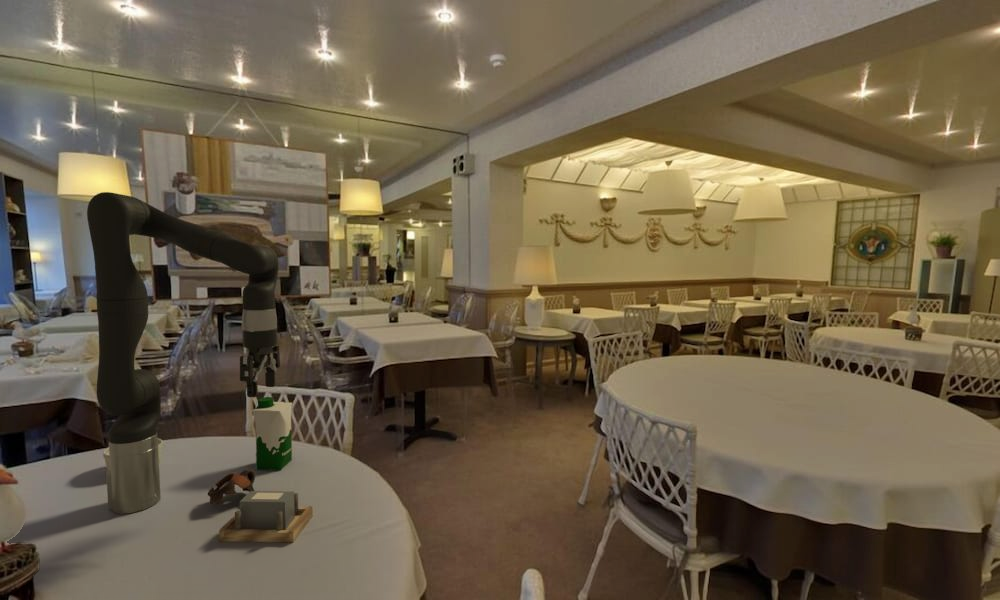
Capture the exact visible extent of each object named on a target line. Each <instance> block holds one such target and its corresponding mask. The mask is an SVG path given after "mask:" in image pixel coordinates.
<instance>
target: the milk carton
mask: <svg viewBox="0 0 1000 600" xmlns="http://www.w3.org/2000/svg"><path fill="white" fill-rule="evenodd" d="M292 404H293V403H292V402H284V401H274V398H273V397H271V396H266V397H265V396H264V397H260V398H258V399H257V406H256V407H255V408H254V409H253V410H252V414H253V417H254V418H253V419H254V422H255V448H256V449H255V452H256V453H255V454H256V455H255V456H256V457H255V463H256V464H255V470H256V471H282V470H283V469H284V468H285V467H286V466H287V465H288V464H289V463H290V462H291V461H292V460H293V456H292V455H293V454H292V453H293V449H292V447H293V445H292V444H293V443H292V408H293V405H292Z"/></svg>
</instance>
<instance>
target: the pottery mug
mask: <svg viewBox="0 0 1000 600" xmlns="http://www.w3.org/2000/svg"><path fill="white" fill-rule="evenodd" d="M255 480H256V474H255V472H254V470H252V469H251V468H248V469H245V470H244V469H243V471H241V472H240V473H237V472H236V471H235V472H231V473H228V474H226V475H224V476H223V477H222V478H221V479H219V480H218V481H217V482H216V483H215V487H216V488H214V487H211V488H210V489H208V492H207V496H209V497H210V498H209V503H210V504H212V505H213V504H216V503H220V504H223V499H224V495H225V496H234V495H236V494H237V491H236V485H237V486H238V487H239V488H241V489H242V491H244V492H248V493H249V492H250V491H255V489H254V486H253V485H254V482H255Z"/></svg>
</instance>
